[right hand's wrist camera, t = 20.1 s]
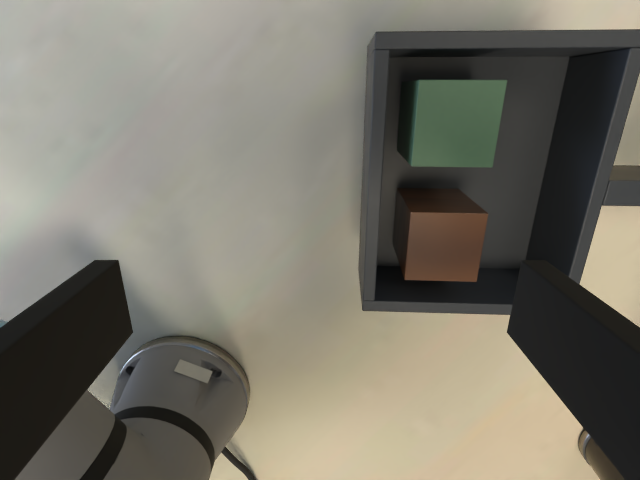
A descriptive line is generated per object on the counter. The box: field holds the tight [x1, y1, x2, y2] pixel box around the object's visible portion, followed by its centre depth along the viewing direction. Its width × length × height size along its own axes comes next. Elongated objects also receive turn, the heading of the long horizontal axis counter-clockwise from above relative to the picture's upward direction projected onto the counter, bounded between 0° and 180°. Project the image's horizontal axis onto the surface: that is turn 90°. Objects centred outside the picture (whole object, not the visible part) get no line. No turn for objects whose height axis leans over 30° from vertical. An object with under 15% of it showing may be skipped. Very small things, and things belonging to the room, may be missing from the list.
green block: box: [397, 80, 507, 167], centre depth 23 cm, size 4×4×6 cm
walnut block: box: [393, 188, 488, 282], centre depth 26 cm, size 4×4×6 cm
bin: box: [358, 29, 640, 315], centre depth 25 cm, size 17×24×6 cm
